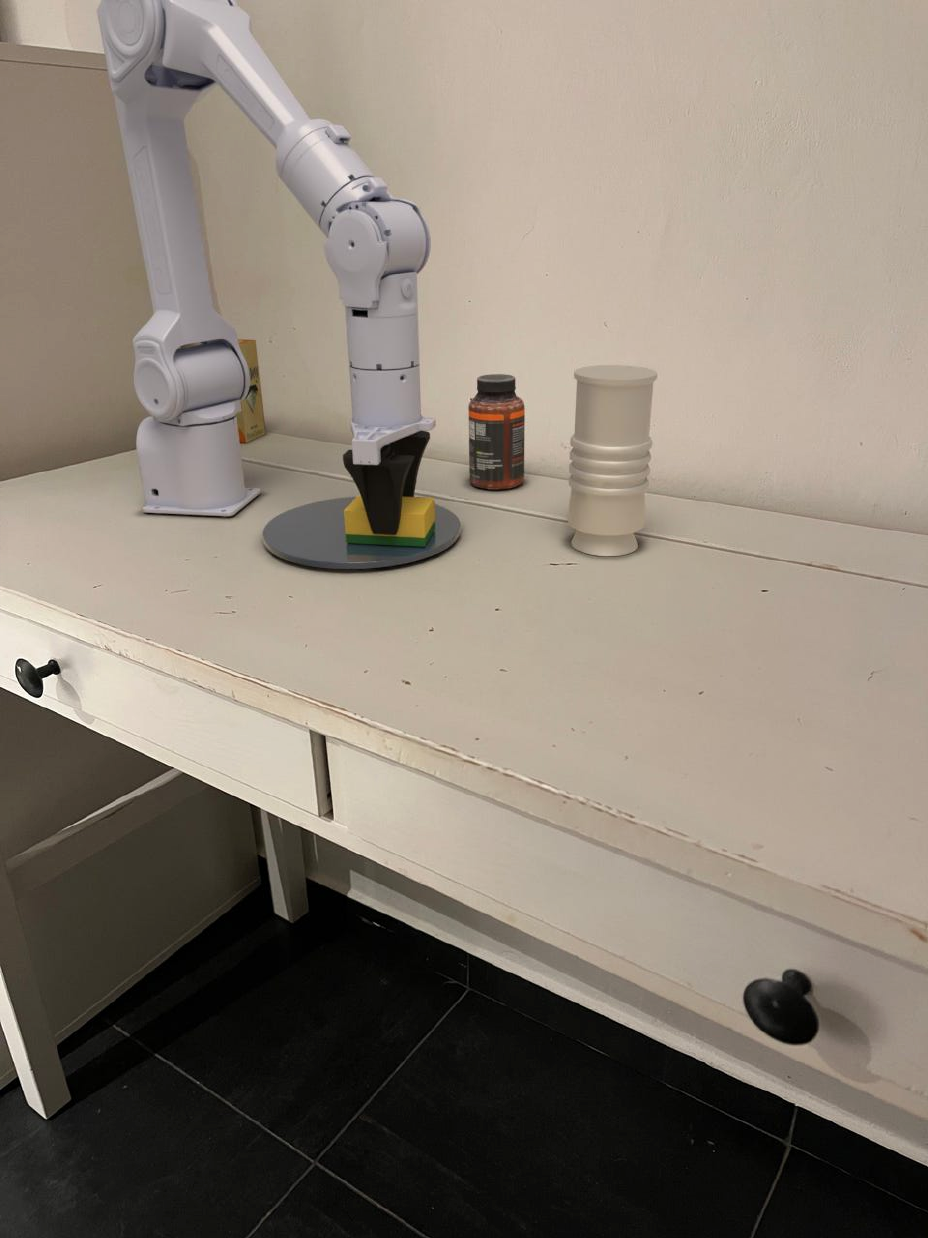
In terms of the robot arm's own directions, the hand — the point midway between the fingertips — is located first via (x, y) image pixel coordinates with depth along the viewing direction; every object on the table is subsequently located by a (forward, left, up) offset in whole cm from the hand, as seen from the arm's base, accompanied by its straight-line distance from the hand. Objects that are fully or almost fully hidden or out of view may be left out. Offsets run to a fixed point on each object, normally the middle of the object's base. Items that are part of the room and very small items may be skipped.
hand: (391, 523), depth 77 cm
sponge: (0, 0, -1) cm, 1 cm away
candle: (+18, +4, -2) cm, 19 cm away
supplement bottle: (+6, +21, -2) cm, 22 cm away
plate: (-4, +3, -2) cm, 5 cm away
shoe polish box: (-30, +37, -2) cm, 47 cm away
